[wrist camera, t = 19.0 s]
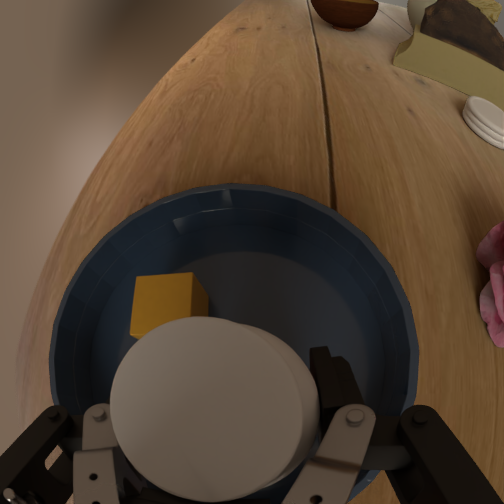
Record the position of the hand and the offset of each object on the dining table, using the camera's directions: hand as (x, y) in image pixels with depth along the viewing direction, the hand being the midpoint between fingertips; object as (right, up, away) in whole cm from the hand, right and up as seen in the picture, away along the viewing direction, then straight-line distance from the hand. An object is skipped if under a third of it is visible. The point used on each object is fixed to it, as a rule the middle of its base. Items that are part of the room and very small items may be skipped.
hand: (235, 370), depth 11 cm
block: (-4, 0, +9) cm, 10 cm away
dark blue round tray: (-1, -3, +8) cm, 8 cm away
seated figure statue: (+43, +40, +27) cm, 64 cm away
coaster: (+38, +24, +18) cm, 48 cm away
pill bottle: (+1, -4, +4) cm, 6 cm away
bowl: (+25, +64, +43) cm, 81 cm away
